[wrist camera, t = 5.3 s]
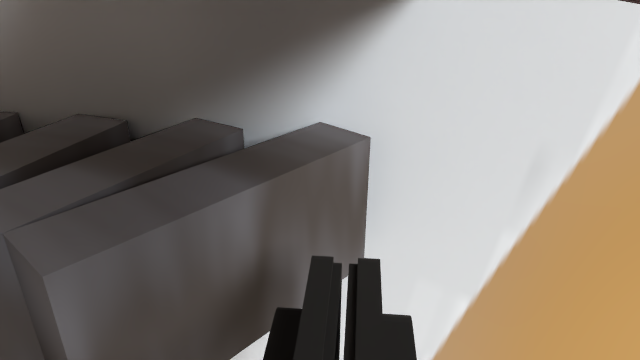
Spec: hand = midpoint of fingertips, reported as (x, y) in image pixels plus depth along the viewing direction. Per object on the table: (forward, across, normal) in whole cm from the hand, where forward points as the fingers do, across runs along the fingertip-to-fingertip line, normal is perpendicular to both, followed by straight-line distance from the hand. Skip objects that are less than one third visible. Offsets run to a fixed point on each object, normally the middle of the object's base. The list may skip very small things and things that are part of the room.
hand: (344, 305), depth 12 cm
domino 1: (+6, 0, 0) cm, 6 cm away
